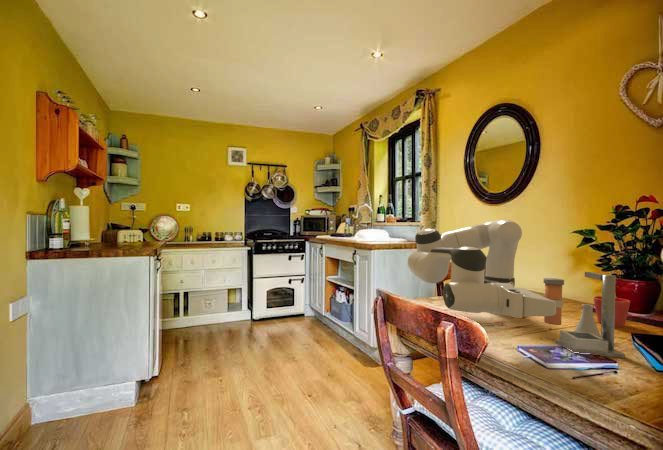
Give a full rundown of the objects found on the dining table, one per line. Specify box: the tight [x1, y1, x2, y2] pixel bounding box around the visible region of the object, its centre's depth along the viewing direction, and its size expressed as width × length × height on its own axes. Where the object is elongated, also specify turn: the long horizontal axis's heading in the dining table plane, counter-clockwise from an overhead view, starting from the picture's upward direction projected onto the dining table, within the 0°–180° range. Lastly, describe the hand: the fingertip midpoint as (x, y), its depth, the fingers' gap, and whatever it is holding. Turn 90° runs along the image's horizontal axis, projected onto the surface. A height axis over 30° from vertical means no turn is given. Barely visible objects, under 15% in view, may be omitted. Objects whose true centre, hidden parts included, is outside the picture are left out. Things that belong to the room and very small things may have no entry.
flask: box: [573, 303, 601, 338], centre depth 115 cm, size 7×7×10 cm
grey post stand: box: [555, 271, 626, 359], centre depth 102 cm, size 13×15×22 cm
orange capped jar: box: [543, 277, 565, 326], centre depth 95 cm, size 5×5×12 cm
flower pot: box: [593, 295, 631, 328], centre depth 129 cm, size 11×11×10 cm
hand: (556, 301), depth 94 cm, fingers closed on orange capped jar, 4 cm apart
